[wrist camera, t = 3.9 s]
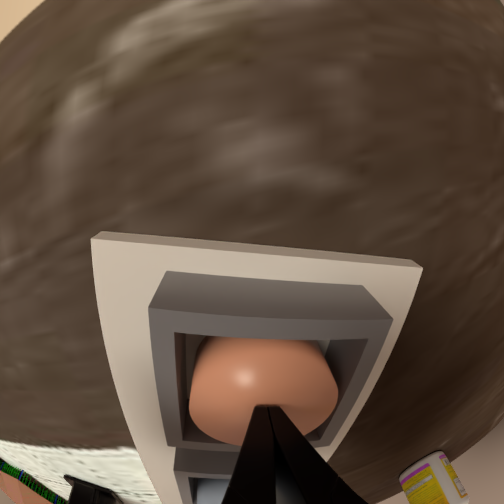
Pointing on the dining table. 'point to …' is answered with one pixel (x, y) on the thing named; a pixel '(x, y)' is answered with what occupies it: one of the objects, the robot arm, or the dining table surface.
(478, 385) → the dining table surface
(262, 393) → the terracotta button
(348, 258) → the button panel
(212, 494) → the slate blue button
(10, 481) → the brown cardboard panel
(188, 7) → the dining table surface
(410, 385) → the dining table surface
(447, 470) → the supplement bottle
